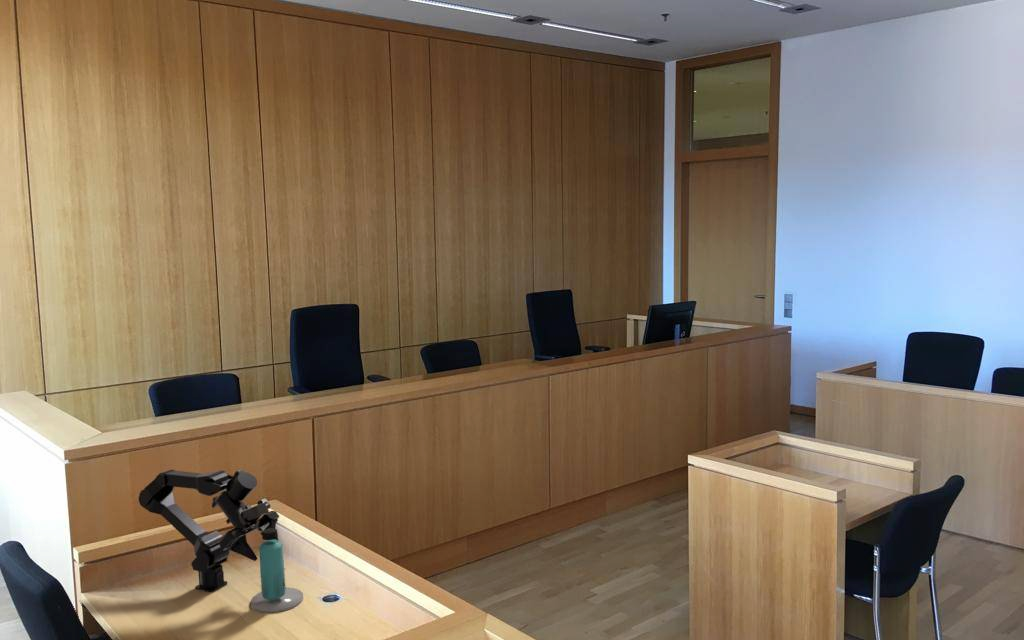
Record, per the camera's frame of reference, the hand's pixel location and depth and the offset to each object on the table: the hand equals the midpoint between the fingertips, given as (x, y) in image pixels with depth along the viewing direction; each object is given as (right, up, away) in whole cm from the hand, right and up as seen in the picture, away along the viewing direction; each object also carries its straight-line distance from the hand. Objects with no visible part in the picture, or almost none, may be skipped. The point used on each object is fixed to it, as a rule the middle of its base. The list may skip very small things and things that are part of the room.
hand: (267, 553), depth 228 cm
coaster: (+3, -13, +1) cm, 13 cm away
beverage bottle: (+2, -13, 0) cm, 13 cm away
